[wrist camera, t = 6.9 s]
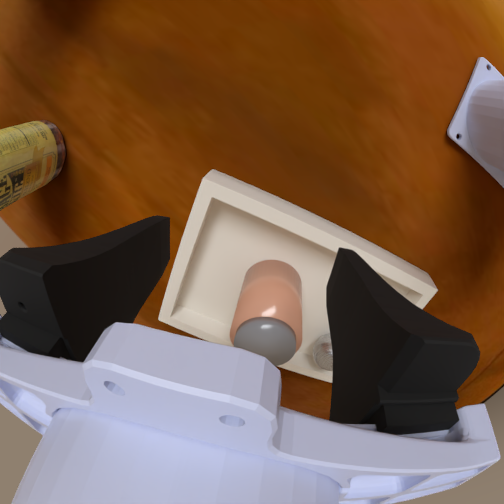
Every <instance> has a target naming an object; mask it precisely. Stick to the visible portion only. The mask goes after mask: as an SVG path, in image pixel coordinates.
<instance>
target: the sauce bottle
mask: <svg viewBox="0 0 504 504" xmlns="http://www.w3.org/2000/svg"><path fill="white" fill-rule="evenodd" d="M65 156H66V149H65V146H64V140H63V136H62V134H61V132H60V130H59V129H58V128H57V126H55V125H54V124H53V123H51V122H49V121H46V120H41V121H32V122H28V123H24V124H20V125H16V126H12V127H8V128H5V129H1V130H0V210H2V209H3V208H5V207H7V206H8V205H10V204H12V203H13V202H15V201H17V200H19V199H20V198H22V197H24V196H26V195H28V194H30V193H31V192H33V191H35V190H37V189H39V188H41V187H43V186H45V185H46V184H47V183H48V182H49V181H51V180H53V179H54V178H55V177H57V176H58V174H59V173H60V171H61V169H62V167H63V163H64V160H65Z"/></svg>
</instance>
